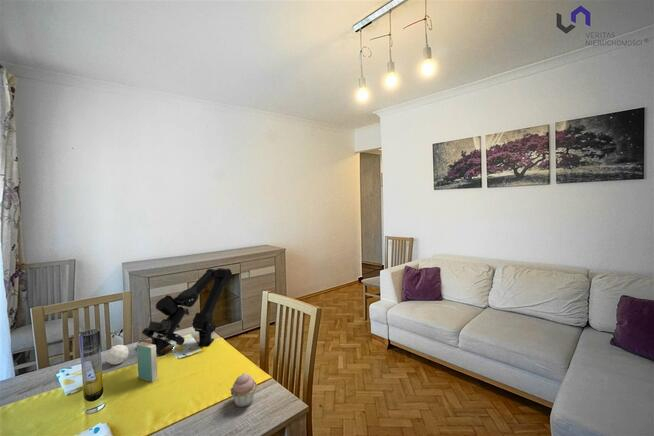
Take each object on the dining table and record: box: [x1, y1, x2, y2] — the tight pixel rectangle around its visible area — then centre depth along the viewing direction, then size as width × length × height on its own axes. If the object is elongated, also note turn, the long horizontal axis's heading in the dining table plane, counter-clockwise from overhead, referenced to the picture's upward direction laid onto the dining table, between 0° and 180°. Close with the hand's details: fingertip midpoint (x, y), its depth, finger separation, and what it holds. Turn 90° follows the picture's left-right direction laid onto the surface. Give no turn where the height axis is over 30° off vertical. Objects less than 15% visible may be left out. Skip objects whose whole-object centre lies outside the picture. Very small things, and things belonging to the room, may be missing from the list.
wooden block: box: [136, 342, 158, 383], centre depth 110 cm, size 2×8×14 cm, turn 70°
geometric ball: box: [105, 344, 130, 365], centre depth 121 cm, size 8×8×8 cm
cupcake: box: [229, 372, 258, 408], centre depth 98 cm, size 9×9×10 cm
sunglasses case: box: [137, 338, 175, 356], centre depth 133 cm, size 18×7×7 cm
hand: (150, 357), depth 111 cm, fingers closed
